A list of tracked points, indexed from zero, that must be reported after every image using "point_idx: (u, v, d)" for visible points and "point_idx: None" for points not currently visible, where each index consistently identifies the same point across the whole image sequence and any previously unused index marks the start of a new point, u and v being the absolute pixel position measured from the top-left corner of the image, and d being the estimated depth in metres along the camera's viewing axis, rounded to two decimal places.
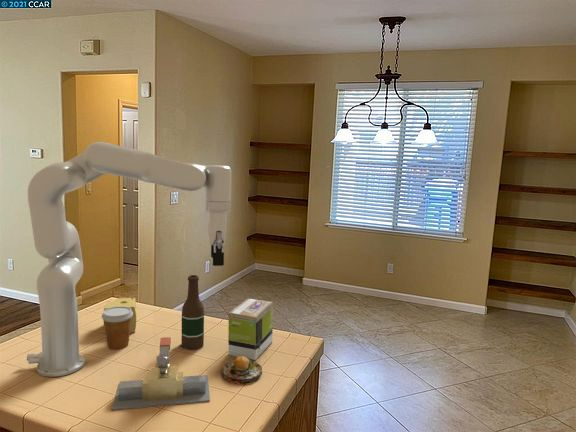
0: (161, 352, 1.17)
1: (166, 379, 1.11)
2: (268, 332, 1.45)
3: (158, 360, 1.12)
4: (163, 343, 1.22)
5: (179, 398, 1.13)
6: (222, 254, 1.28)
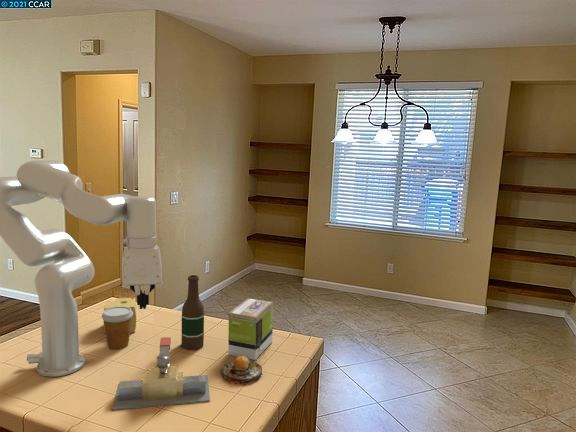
0: (161, 352, 1.17)
1: (166, 379, 1.11)
2: (268, 332, 1.45)
3: (158, 360, 1.12)
4: (163, 343, 1.22)
5: (179, 398, 1.13)
6: None
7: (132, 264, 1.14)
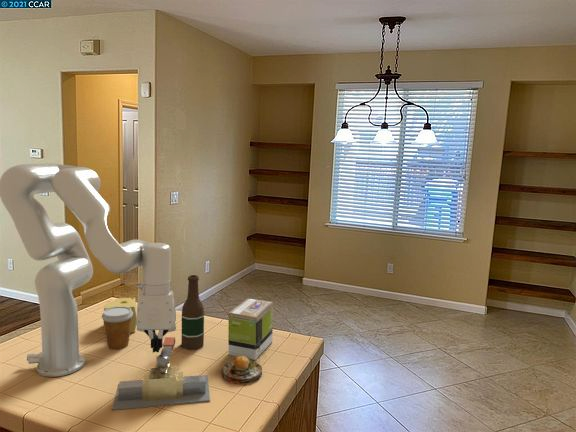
0: (163, 352, 1.17)
1: (166, 379, 1.11)
2: (268, 332, 1.45)
3: (158, 360, 1.12)
4: (166, 343, 1.22)
5: (179, 398, 1.13)
6: None
7: (146, 309, 1.17)
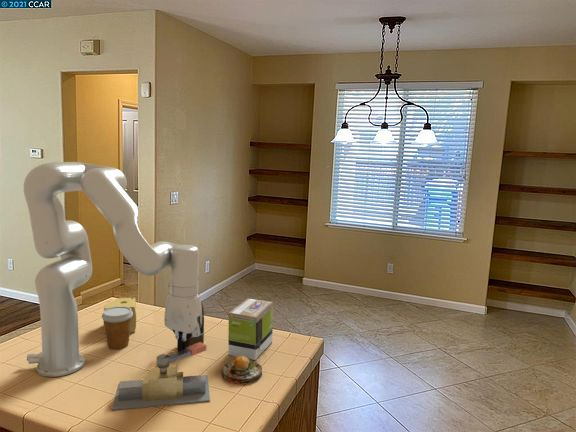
0: (174, 353, 1.17)
1: (166, 379, 1.11)
2: (268, 332, 1.45)
3: None
4: (190, 347, 1.20)
5: (179, 398, 1.13)
6: None
7: (171, 309, 1.19)
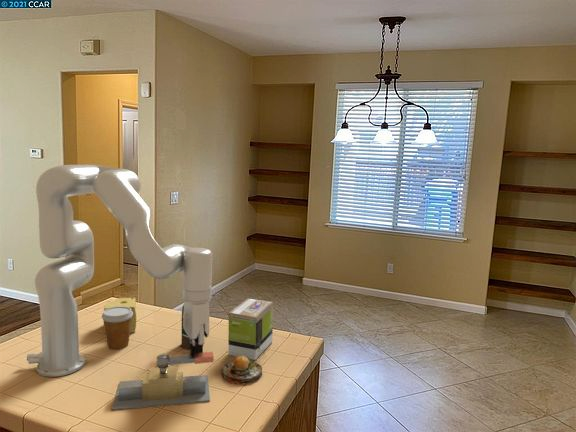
0: (178, 356, 1.15)
1: (166, 379, 1.11)
2: (268, 332, 1.45)
3: None
4: (197, 354, 1.16)
5: (179, 398, 1.13)
6: (201, 346, 1.19)
7: (184, 311, 1.18)
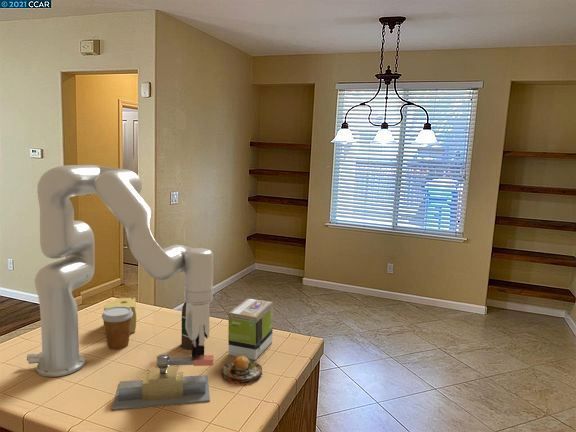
0: (178, 357, 1.15)
1: (166, 379, 1.11)
2: (268, 332, 1.45)
3: None
4: (197, 356, 1.15)
5: (179, 398, 1.13)
6: (202, 347, 1.18)
7: (186, 311, 1.18)
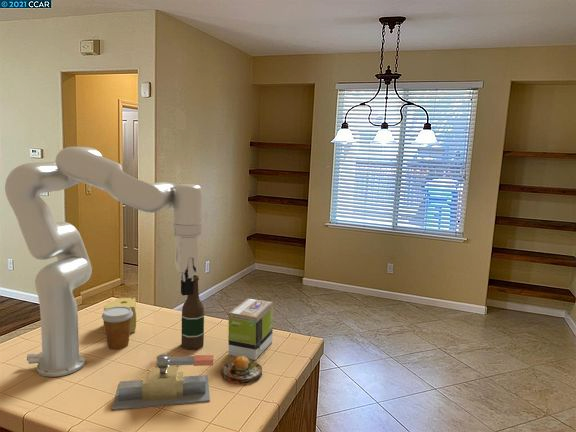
0: (178, 357, 1.15)
1: (166, 379, 1.11)
2: (268, 332, 1.45)
3: None
4: (197, 356, 1.15)
5: (179, 398, 1.13)
6: (191, 282, 1.20)
7: None
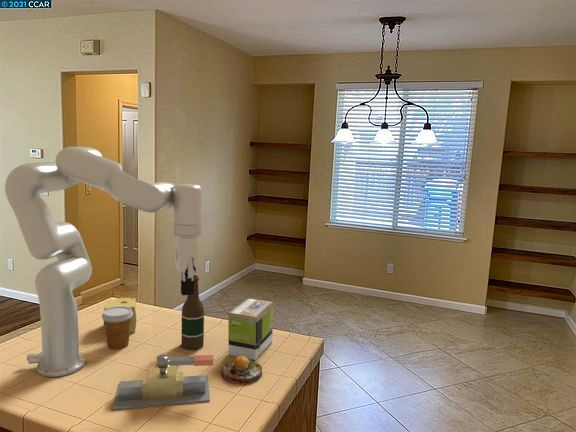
0: (178, 357, 1.15)
1: (166, 379, 1.11)
2: (268, 332, 1.45)
3: None
4: (197, 356, 1.15)
5: (179, 398, 1.13)
6: (191, 282, 1.20)
7: None
